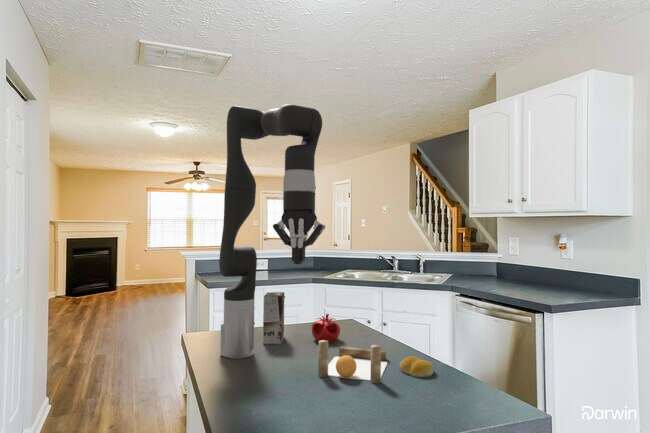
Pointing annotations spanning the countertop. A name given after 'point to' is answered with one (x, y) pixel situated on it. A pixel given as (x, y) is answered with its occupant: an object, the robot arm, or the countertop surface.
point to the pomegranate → (325, 329)
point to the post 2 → (375, 363)
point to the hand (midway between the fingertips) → (298, 263)
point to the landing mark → (361, 369)
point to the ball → (346, 366)
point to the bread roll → (416, 367)
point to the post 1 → (323, 358)
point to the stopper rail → (359, 353)
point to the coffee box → (273, 318)
